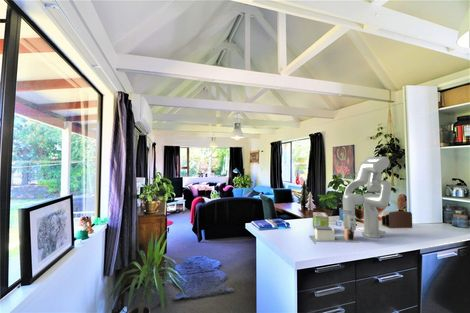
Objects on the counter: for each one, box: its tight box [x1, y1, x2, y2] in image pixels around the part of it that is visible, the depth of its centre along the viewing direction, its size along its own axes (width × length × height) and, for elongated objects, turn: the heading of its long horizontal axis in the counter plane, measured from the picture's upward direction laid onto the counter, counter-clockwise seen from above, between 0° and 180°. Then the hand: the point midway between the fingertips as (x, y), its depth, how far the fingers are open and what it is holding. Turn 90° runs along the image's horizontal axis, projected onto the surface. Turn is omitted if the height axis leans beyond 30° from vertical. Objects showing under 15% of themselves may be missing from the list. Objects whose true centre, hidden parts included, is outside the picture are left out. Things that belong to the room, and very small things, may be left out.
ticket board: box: [308, 226, 360, 245], centre depth 162 cm, size 30×14×9 cm, turn 87°
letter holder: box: [381, 210, 413, 229], centre depth 197 cm, size 10×20×14 cm, turn 92°
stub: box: [343, 227, 355, 240], centre depth 161 cm, size 5×4×7 cm
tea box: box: [312, 211, 330, 233], centre depth 181 cm, size 15×10×15 cm, turn 168°
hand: (349, 238), depth 161 cm, fingers closed on stub, 4 cm apart
